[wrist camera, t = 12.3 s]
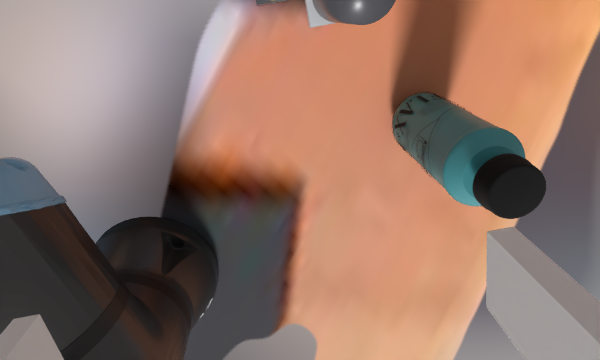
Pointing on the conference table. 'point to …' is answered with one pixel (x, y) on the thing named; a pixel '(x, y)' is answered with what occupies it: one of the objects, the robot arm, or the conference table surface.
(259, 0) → the bay
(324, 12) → the open tray with handle
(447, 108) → the beverage bottle
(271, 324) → the conference table surface
